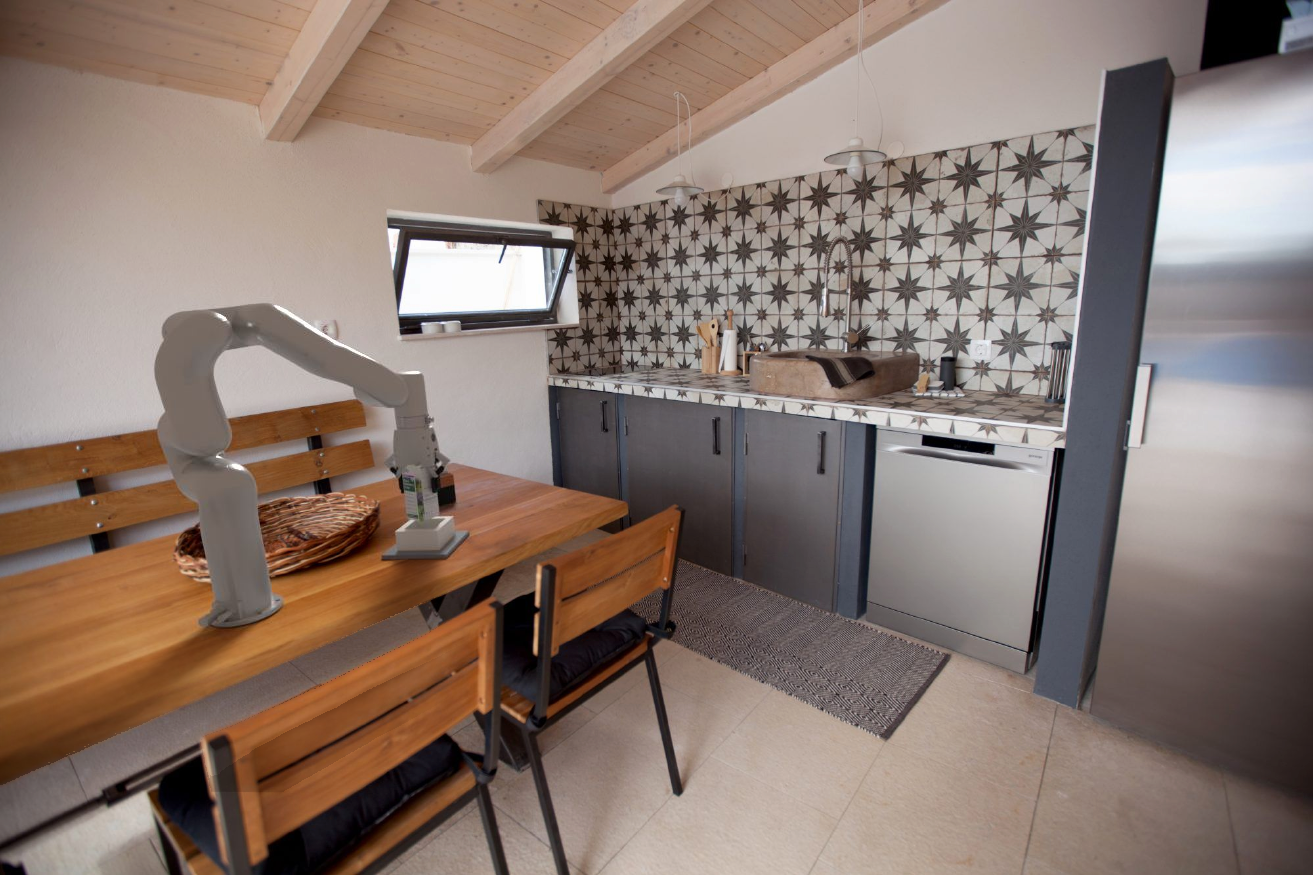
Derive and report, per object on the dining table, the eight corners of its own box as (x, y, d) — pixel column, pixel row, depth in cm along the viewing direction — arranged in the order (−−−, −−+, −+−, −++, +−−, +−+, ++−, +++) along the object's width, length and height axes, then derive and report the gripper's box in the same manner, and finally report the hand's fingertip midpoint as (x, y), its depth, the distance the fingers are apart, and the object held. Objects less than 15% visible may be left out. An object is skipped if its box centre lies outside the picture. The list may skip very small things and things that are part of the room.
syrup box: (406, 519, 152) (399, 463, 149) (424, 512, 157) (418, 458, 154) (422, 522, 150) (415, 465, 147) (440, 515, 155) (434, 459, 152)
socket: (446, 558, 147) (443, 534, 146) (382, 559, 148) (378, 535, 147) (469, 533, 163) (467, 512, 161) (411, 534, 163) (408, 513, 162)
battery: (429, 504, 189) (426, 473, 187) (449, 499, 194) (446, 468, 192) (436, 507, 186) (433, 475, 184) (457, 501, 191) (453, 470, 189)
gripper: (453, 418, 152) (460, 487, 155) (385, 420, 153) (394, 488, 156) (441, 424, 144) (449, 495, 148) (370, 426, 145) (379, 497, 149)
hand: (420, 491), depth 152 cm, fingers closed on syrup box, 7 cm apart
